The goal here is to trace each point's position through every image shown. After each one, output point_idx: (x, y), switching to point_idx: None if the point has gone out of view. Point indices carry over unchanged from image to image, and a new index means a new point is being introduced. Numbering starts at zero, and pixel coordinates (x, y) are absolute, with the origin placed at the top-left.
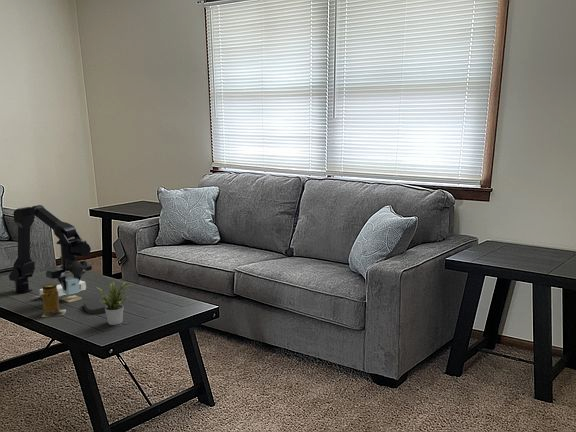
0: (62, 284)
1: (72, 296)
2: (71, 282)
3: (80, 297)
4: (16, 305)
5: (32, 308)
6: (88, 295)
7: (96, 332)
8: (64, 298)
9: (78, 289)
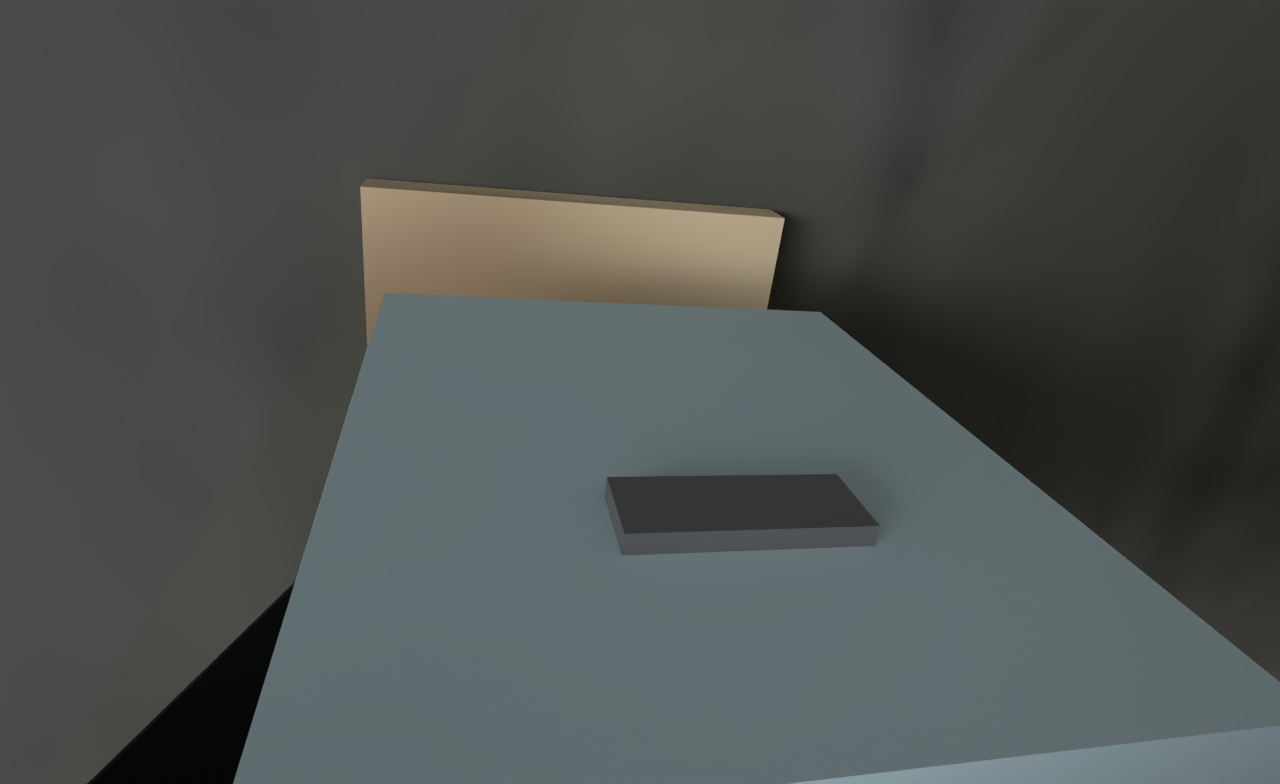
0: None
1: None
2: (940, 627)
3: (376, 239)
4: None
5: (1274, 477)
6: (13, 323)
7: None
8: None
9: (415, 338)
